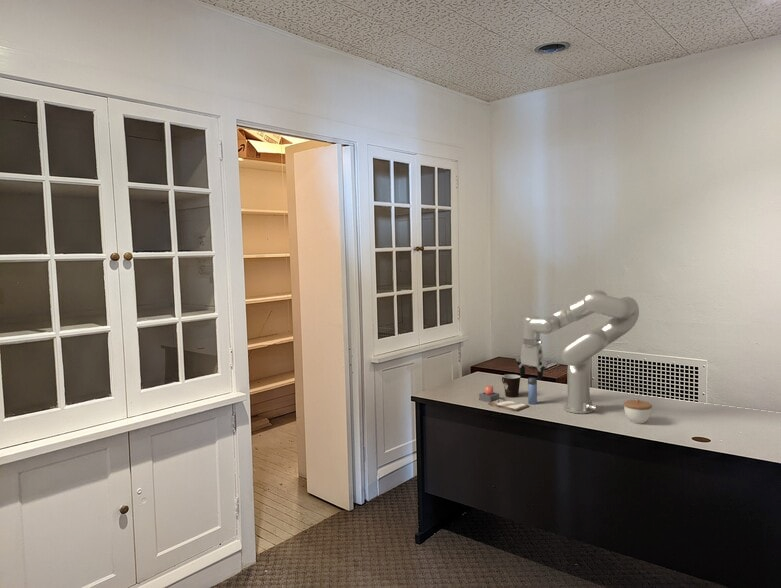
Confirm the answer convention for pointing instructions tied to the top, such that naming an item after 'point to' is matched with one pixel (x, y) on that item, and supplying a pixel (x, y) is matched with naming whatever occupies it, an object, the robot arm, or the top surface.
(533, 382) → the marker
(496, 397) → the button housing
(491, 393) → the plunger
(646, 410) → the lidded jar
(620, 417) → the top surface
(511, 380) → the coffee mug
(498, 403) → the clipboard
